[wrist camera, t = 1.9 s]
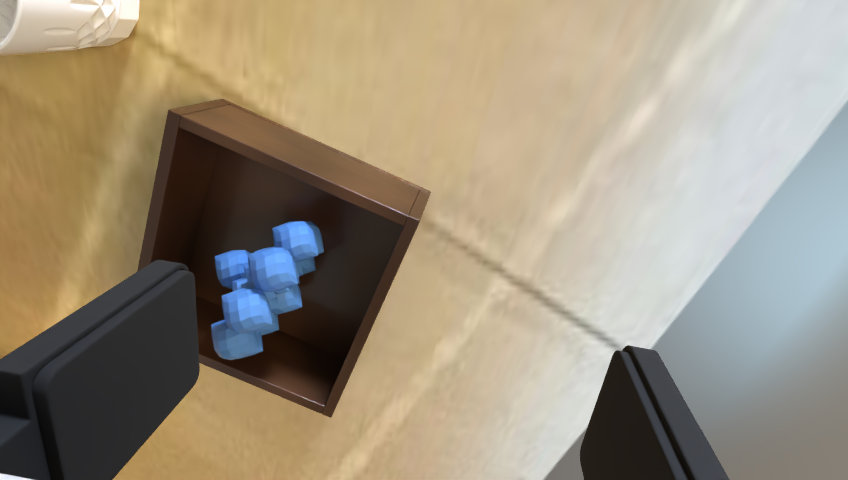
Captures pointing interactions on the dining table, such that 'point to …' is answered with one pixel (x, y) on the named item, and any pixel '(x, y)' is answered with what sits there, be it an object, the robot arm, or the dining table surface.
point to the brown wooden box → (252, 230)
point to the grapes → (262, 287)
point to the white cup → (64, 24)
